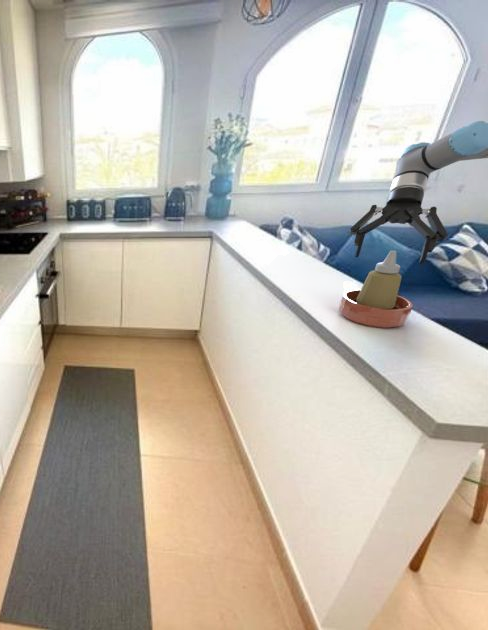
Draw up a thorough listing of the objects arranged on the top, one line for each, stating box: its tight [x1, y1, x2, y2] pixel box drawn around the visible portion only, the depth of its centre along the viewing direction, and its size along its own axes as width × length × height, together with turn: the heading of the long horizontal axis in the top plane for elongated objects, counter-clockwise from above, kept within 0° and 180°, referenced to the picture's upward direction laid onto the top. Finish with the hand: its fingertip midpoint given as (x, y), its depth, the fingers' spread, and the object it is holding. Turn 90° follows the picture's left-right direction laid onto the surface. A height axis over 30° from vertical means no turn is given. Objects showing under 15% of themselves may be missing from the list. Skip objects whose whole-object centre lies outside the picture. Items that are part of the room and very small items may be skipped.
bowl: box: [338, 288, 414, 329], centre depth 94 cm, size 14×14×6 cm
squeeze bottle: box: [356, 250, 403, 310], centre depth 91 cm, size 8×8×18 cm
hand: (388, 258), depth 95 cm, fingers open, 13 cm apart
